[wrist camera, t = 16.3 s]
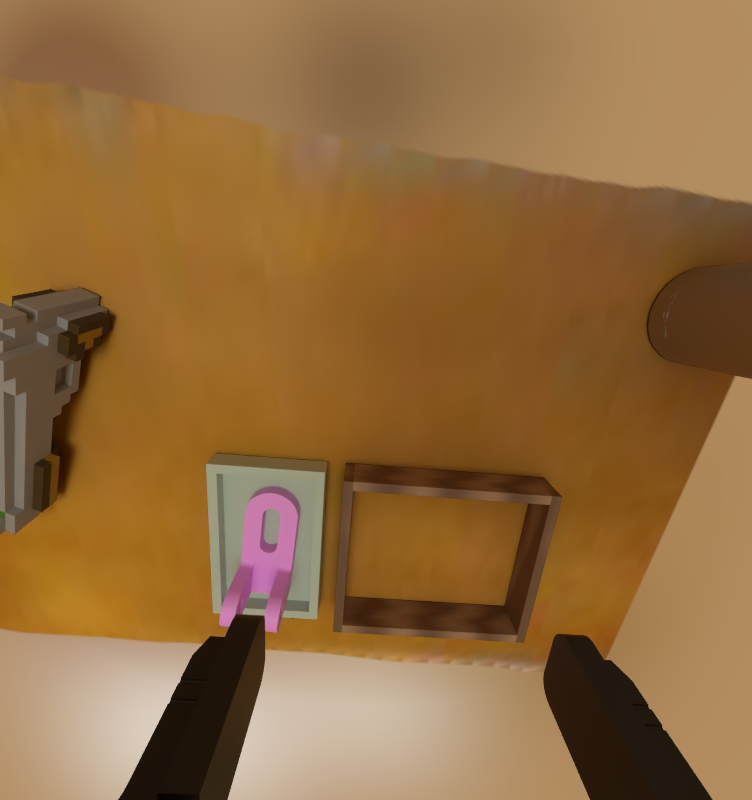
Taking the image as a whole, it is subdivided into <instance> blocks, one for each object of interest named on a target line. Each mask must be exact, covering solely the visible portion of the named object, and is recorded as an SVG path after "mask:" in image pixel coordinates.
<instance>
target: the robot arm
mask: <svg viewBox="0 0 752 800" xmlns="http://www.w3.org/2000/svg"><path fill="white" fill-rule="evenodd" d="M648 333H649V337H650V341H651V343H652V345H653V347H654V349H655V350H656V351H657V352H658V353H659V354H660V355H661V356H662V357H664V358H666V359H667V360H669V361H673V362H676V363H680V364H685V365H690V366H694V367H699V368H704V369H708V370H712V371H717V372H721V373H726V374H731V375H736V376H740V377H745V378H750V379H752V263H741V264H731V265H721V266H710V267H701V268H696V269H692V270H689V271H687V272H685V273H683V274H681V275H679V276H678V277H676V278H675V279H674V280H672V281H671V282H670V283H669V284H667V286H666V287H665V288H664V289H663V290H662V291H661V292H660V294H659V295H658V297H657V299H656V300H655V302H654V304H653V307H652V309H651V312H650V316H649V321H648ZM264 663H265V616H264V615H248V614H236V615H235V616H234V618H233V620H232V622H231V624H230V627H229V629H228V631H227V633H226V636H225V637H214V636H210V637H209V638H208V639H207V640H206V641H205V643H204V644H203V645H202V646H201V647H200V648H199V649H198V650H197V651H196V652H195V653H194V654H193V655H192V657H191V659H190V661H189V663H188V665H187V667H186V669H185V671H184V673H183V675H182V677H181V681H180V683H178V685H177V687H176V689H175V691H174V693H173V695H172V697H171V701H170V703H169V704H168V705H167V707H166V709H165V711H164V713H163V715H162V717H161V719H160V721H159V723H158V725H157V727H156V729H155V731H154V733H153V735H152V737H151V739H150V741H149V743H148V745H147V747H146V749H145V751H144V753H143V755H142V757H141V759H140V761H139V763H138V765H137V767H136V769H135V771H134V773H133V775H132V777H131V779H130V781H129V782H128V785H127V786H126V788H125V790H124V792H123V793H122V795H121V796H120V798H119V799H118V800H227V799H228V796H229V792H230V789H231V785H232V782H233V778H234V775H235V771H236V768H237V764H238V761H239V757H240V754H241V751H242V747H243V744H244V740H245V737H246V733H247V730H248V726H249V723H250V719H251V716H252V713H253V709H254V706H255V702H256V699H257V695H258V692H259V688H260V685H261V681H262V676H263V671H264ZM543 680H544V689H545V694H546V698H547V701H548V703H549V706H550V708H551V710H552V713H553V715H554V717H555V719H556V722H557V724H558V726H559V729H560V731H561V733H562V736H563V738H564V740H565V743H566V745H567V747H568V750H569V752H570V754H571V757H572V759H573V761H574V763H575V766H576V768H577V770H578V773H579V775H580V777H581V780H582V782H583V784H584V787H585V789H586V791H587V793H588V796H589V798H590V800H712V798H711V797H710V795H709V794H708V792H707V791H706V789H705V788H704V786H703V785H702V783H701V782H700V781H699V779H698V778H697V776H696V775H695V773H694V772H693V770H692V769H691V767H690V766H689V764H688V763H687V761H686V760H685V758H684V757H683V755H682V754H681V753H680V751H679V749H678V748H677V747H676V745H675V744H674V742H673V741H672V739H671V738H670V737H669V735H668V733H667V732H666V731H664V730H663V728H662V724H661V723H660V721H659V720H658V719H657V717H656V715H655V714H654V713H653V711H652V710H650V709H649V707H648V704H647V702H646V701H645V699H644V698H643V696H642V695H641V693H640V692H639V690H638V689H637V688H636V686H635V684H634V683H633V682H632V680H631V679H630V678H629V677H628V676H627V675H625V674H624V673H623V672H622V671H621V670H620V669H619V668H618V667H617V666H616V665H615V664H614V663H613V662H612V661H611V660H604V659H603V658H602V656H601V655H600V653H599V651H598V650H597V648H596V647H595V645H594V644H593V642H592V641H591V640H590V639H589V638H588V637H587V636H584V635H567V634H557V635H556V636H555V637H554V640H553V643H552V647H551V650H550V654H549V657H548V661H547V664H546V668H545V671H544V679H543Z"/></svg>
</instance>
